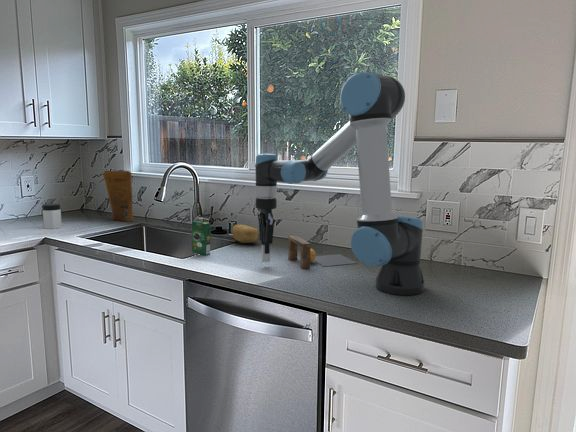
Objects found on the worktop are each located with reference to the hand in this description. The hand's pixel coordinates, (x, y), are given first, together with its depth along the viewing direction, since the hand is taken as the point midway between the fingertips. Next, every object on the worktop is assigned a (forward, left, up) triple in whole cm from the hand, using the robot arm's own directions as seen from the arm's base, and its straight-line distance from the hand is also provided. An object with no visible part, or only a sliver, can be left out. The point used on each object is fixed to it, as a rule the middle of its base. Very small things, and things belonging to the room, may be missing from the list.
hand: (265, 261), depth 163 cm
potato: (+39, -3, -2) cm, 39 cm away
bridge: (0, -13, -2) cm, 13 cm away
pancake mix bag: (+114, +49, -2) cm, 124 cm away
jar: (+102, +82, -2) cm, 131 cm away
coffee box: (+26, +19, -2) cm, 32 cm away
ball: (0, -17, +1) cm, 17 cm away
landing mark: (0, -27, -2) cm, 27 cm away
